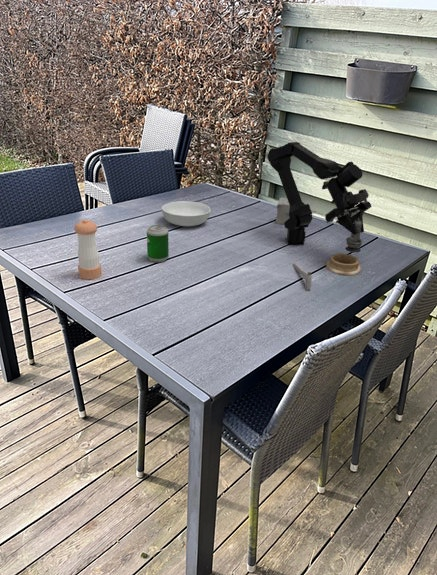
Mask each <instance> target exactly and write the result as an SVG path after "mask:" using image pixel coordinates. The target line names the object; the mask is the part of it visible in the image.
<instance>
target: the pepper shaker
mask: <svg viewBox="0 0 437 575" xmlns="http://www.w3.org/2000/svg"><path fill="white" fill-rule="evenodd" d="M73 227H74V232H75V233H76V234H77V240H78V242H77V243H78V248H77V249H78V250H77V259H78V266H77V269H78V277H79V276H80V277H81V278H80V277H79V278H80V279H82V278H83V279H82V280H86V279H91V280H95V278H96V279H99V278H100V277H101V276H102V275H101V274H102V265H101V263H100V254H99V250H98V246H97V241H96V240H97V236H96V233H97V230H98V225H97V224H96V222H94V221H92V220H88V219H85V218H84V219H83V220H81V221H78V222H77V223H76V224H75V225H74V226H73ZM98 277H99V278H98Z"/></svg>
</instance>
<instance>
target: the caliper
mask: <svg viewBox="0 0 437 575" xmlns="http://www.w3.org/2000/svg"><path fill="white" fill-rule="evenodd" d="M292 266H293V267H294V269H295V270H296V271H297V272H298V273H299V274H300V275H301V276H302V279H303V280H304V285H305V286H304V288H305V289H306V291H310V290H311V286H312V271H309V270H304V269H303V267H301V266H300V265H299V264H298V263H296V262H293V263H292Z"/></svg>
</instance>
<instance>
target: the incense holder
mask: <svg viewBox="0 0 437 575" xmlns="http://www.w3.org/2000/svg"><path fill="white" fill-rule="evenodd" d="M289 209H290V205H289V202H288V199H287V197H286V198H285V197H279V198H278V202H277V205H276V210H277V211H276V219H275V224H276V225H281V224H282V225H284V222H285V221H287V220H288V219H289V218H290V217H289Z"/></svg>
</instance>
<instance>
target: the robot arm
mask: <svg viewBox="0 0 437 575" xmlns="http://www.w3.org/2000/svg"><path fill="white" fill-rule="evenodd" d="M291 157H295V158H296V159H298V160H299V161H300V162H302V163H304V164H305V165H307V166H308V167H309V168H311V170H312V173H313V174H314V175H315V176H316V177H318V178H319V179H320V180H325V181H323V183H322V186H321V190H328V192H329V194H330V196H331V199H332V200H331V201H330V202H331V204H332V205H333V204H334V205H335V208H333V209H331V210H330V211H329V212H327V213H326V214H325V215H324V216H325V217H324V218H325V221H326V222H327V224H329V223H332V222H334V219H335V218H337V219H336V220H335V223H336V224H338V225H340V226H342V227H343V228H344V229H346V230H348V231H349V233H352V234H354V235H355V234H357V232H356V229H355V227H354V224H353V222H354V221H355V220H357V218H359V220H361V221H362V226H361V230H362V231H361V233H360V234H362V233H364V232H365V228H364V221H363V217H364V216H363V215H364V213H365V212H366V211H369V209H371V208H372V204H371V202H370V201H369V200H368V198H369V196H370V195H369V192H368V191H367V189H366V188H364V189H359V190H358V193H354V194H353V192H352V191H348V188H349V187H351V186H352V185H354V184H355V183H356V182H358V181H359V180H361V179H362V177H363V171H362V169H361V168H360V167H359V166H358V165H357V164H355V163H354V162H353V161H348V162H346V163H345V165H344V166H343V167H342V166H341V165H339V163H337V161H335V160H332V159H330V158H323V157H321V156H320V155H318V154H316V153H314V152H313V151H311V150H310V149H308V148H306V147H305V146H303V145H302V144H301V143H300V142H299V141H293V142H288V143H286V144H283V145H281V146H278V147H274V148H271V149H269V150H268V153H267V159H268V162H269V164H270V167H272V168H273V169H274V170H275V171H276V172H277V174H278V177H279V179H280V182H281V185H282V188H283V190H284V194H285V197H286V198H287V199H288V202H289V205H290V209H289V217H290V218H289V219H288V220H287V221H285V222H284V224H283V226H284V228H285V229H287V231H286V237H285V241H286V243H287V244H288V245H293V246H295V245H296V246H297V245H298V246H300V245H302V246H304V245H305V241H306V233H307V232H306V229H305V228H308V227H309V225H310V224H311V223H312V220H313V215H314V214H313V211H312V210H311V206H310V204H309V203H306V204H305V203H304V202H303V201H302V200H303V199H302V197H301V195H300V192H299V188H298V187H297V183H296V181H295V178H294V176H293V172H292V170H291V164H292V158H291ZM327 179H328V180H327Z"/></svg>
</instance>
